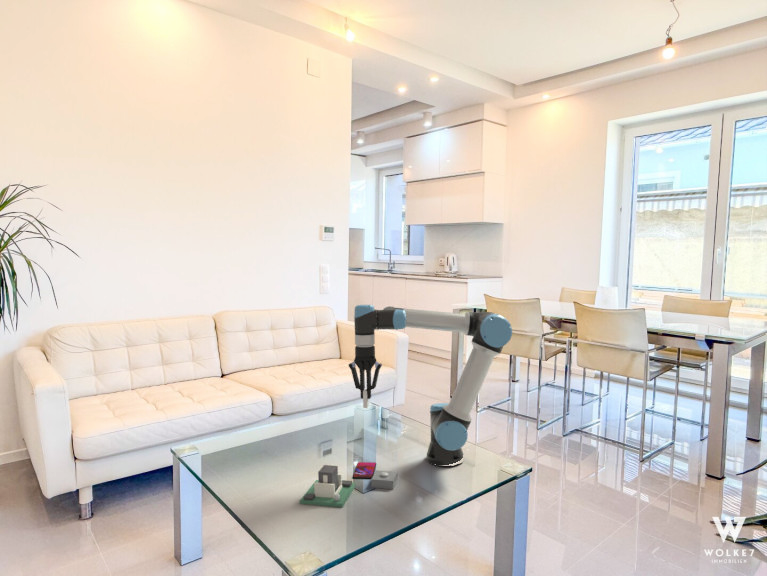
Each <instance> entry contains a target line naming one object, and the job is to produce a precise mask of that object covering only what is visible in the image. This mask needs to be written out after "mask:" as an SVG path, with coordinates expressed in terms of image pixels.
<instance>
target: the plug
mask: <svg viewBox="0 0 767 576" xmlns="http://www.w3.org/2000/svg"><path fill="white" fill-rule="evenodd" d="M338 470H339V469H338V465H331V464H330V465H329V464H324V465H322V466H321V468H320V469H319V470H318V472H317V474H318V479H317V480H319V483H330V484H335V492H336V490H337V489H338V474H339V472H338Z"/></svg>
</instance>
